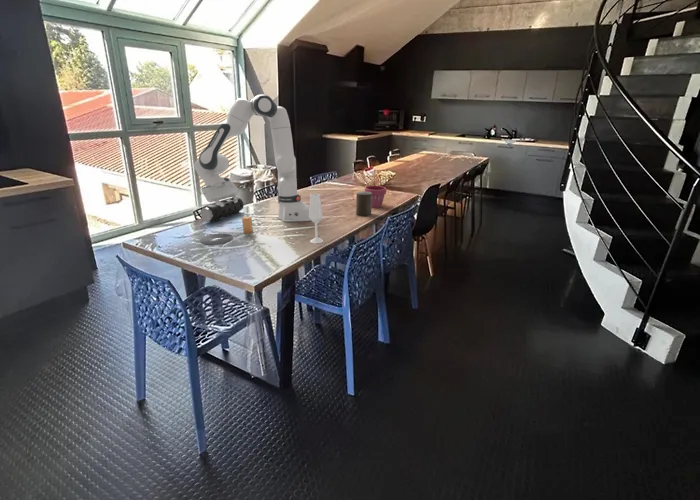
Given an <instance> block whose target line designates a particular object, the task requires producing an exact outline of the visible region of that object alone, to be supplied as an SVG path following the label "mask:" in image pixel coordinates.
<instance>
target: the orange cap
mask: <svg viewBox="0 0 700 500" xmlns="http://www.w3.org/2000/svg"><path fill="white" fill-rule="evenodd" d="M241 223H242V230H243V234H246V235H247V234H252V233H254V230H253V228H254V227H253V218H252V216H243V217H242V218H241Z"/></svg>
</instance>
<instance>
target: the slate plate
mask: <svg viewBox="0 0 700 500" xmlns="http://www.w3.org/2000/svg"><path fill="white" fill-rule="evenodd" d="M233 238H234V236H233V235H232V234H229V233H223V232H221V233H220V232H219V233H213V234H212V233H211V234H207V235H205V236H203V237H201V238H200V239H199V241H200V243H201V244H204V245H209V246H211V245H213V246H215V245H222V244H226V243H228V242H230V241H233Z"/></svg>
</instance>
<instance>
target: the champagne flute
mask: <svg viewBox="0 0 700 500" xmlns="http://www.w3.org/2000/svg"><path fill="white" fill-rule="evenodd" d="M308 206H309V218H310V221H311V222H312V223H314V233H315V234H314V238H312V239H310V241H309V242H310V243H311V244H321V243H323V242H324V240H323V239H322V238H320V237H318V234H319V233H318V223H319V222H320V221H322V219H323V209H322V202H321V194H319V193H310V195H309V205H308Z"/></svg>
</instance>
